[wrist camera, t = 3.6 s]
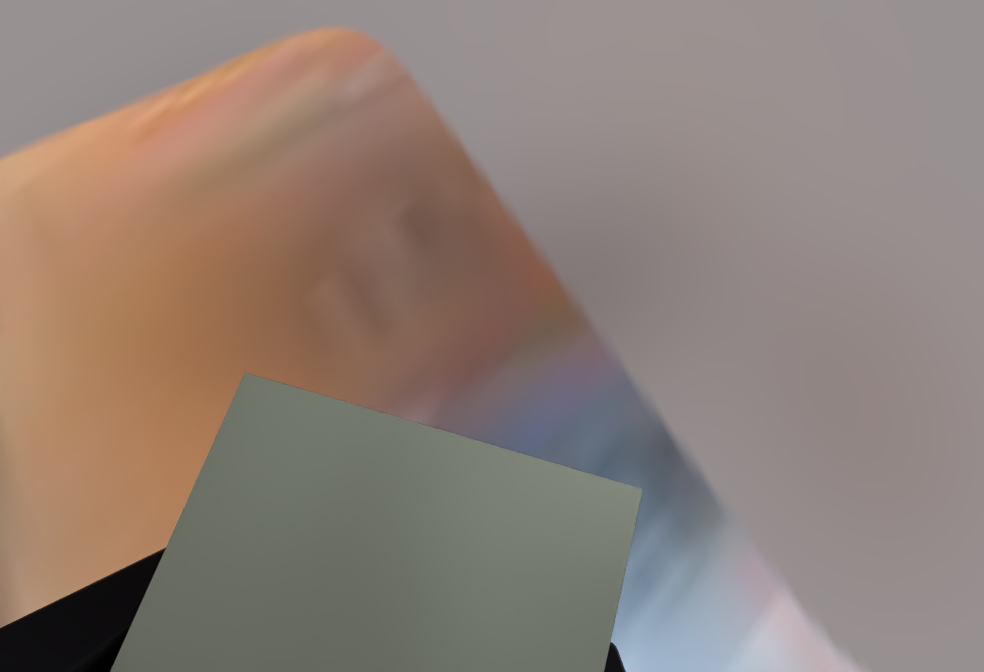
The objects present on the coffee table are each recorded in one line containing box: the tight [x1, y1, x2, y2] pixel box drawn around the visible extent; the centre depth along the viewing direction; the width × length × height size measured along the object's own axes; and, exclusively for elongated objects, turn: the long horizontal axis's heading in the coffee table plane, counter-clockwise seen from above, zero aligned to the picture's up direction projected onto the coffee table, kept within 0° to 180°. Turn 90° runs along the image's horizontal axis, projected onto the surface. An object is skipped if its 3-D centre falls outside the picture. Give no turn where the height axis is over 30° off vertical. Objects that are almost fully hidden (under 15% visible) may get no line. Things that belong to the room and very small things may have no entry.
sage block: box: [110, 372, 643, 672], centre depth 10 cm, size 4×4×9 cm
